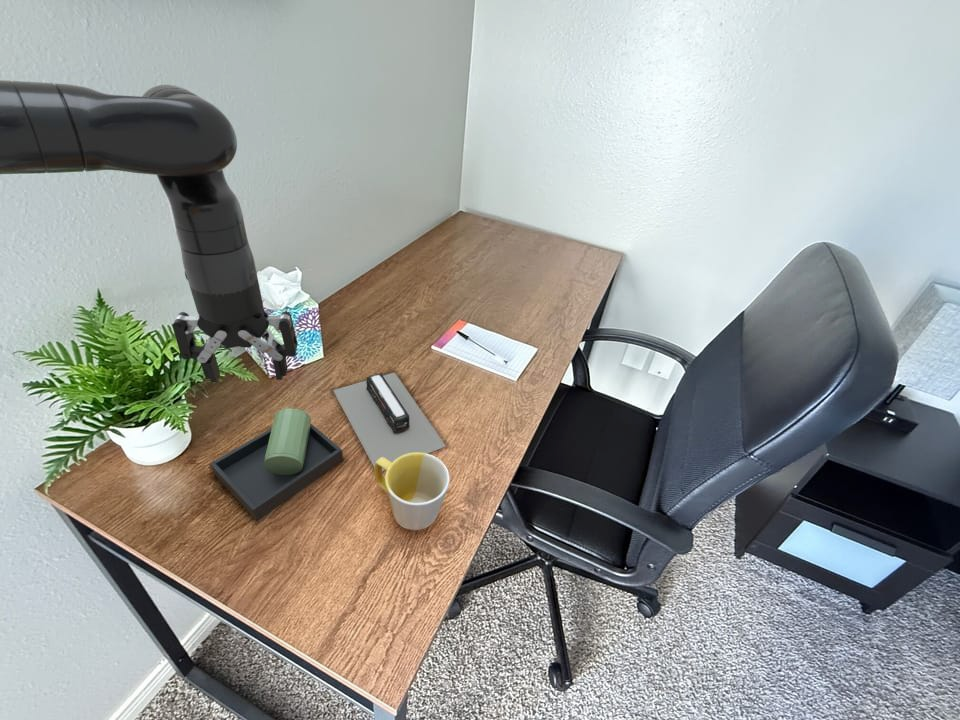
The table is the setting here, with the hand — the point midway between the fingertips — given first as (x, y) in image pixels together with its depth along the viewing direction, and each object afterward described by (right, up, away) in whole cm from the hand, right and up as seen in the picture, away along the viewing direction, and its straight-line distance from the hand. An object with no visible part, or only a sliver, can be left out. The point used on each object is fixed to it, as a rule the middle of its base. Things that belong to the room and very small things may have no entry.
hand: (248, 377), depth 66 cm
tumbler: (-1, -16, +14) cm, 21 cm away
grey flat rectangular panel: (+14, -10, +31) cm, 35 cm away
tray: (-3, -17, +18) cm, 25 cm away
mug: (+21, -24, +14) cm, 35 cm away
